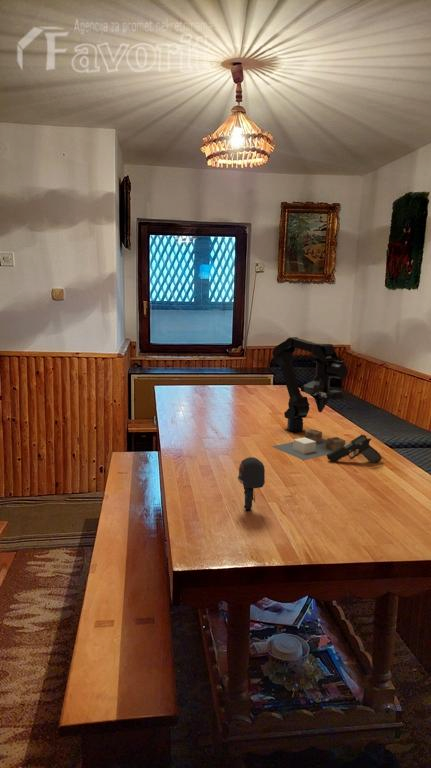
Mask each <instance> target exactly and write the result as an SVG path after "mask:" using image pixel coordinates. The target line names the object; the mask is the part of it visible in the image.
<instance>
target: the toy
mask: <svg viewBox="0 0 431 768" xmlns="http://www.w3.org/2000/svg"><path fill="white" fill-rule="evenodd" d="M265 471H266V469H265V465H264V463H263V462H262V461H261V460H259V458H257V457H254V456H253V457H252V456H249V457H246V458H244V459H243V460H241V463H240V464H239V467H238V476H237V480H238V482H239V483H240V484H241V485H242V487H243V494H244V508H245V509H244V511H245V512H250V511H251V509H252V508H253V501H254V503H256V494H255V489H260V488H263V487H264V486H265V483H266V481H265V477H266V476H265V473H266V472H265Z"/></svg>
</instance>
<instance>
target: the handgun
mask: <svg viewBox="0 0 431 768" xmlns="http://www.w3.org/2000/svg"><path fill="white" fill-rule="evenodd" d="M371 440H372V438H370V437H369V438H367V436H366V435H365V434H362V433H361V434H360V435H359V436H357V437H355V438H353V439H352V440H350V441H349V442H348V443H345V445H344V446H342V447H340V448H338V449H336V450H335V451H333V452H331V453H330V454H327V455H326V457H327V459H328V460H329V461H331V463H337V462H338V461H340V460H342V458H343V459H344V458H345V457H346V456H348V457H349V459H350V460H352V459H353V460H354V459H355V458H356V457H358V456H359V455H362V456H363V457H364V458H365V459H366V460H367V461H368V462H369V463H370V464H378V463H379V462H381V461H382V459H383V457H382V455H381V454H380V453H379V452H378V451H377V449H375V448H374V447H372V445H370V441H371ZM357 450H358V452H357ZM352 453H353V456H350V454H352Z"/></svg>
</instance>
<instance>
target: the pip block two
mask: <svg viewBox="0 0 431 768" xmlns="http://www.w3.org/2000/svg"><path fill="white" fill-rule="evenodd" d="M326 440H327V442H326V448H327V449H329V450H331V451H335V450H336V449H338V448H340V447H342V446H344V445H346V439H342V438H341V437H337V436H334V437H326Z"/></svg>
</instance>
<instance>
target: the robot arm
mask: <svg viewBox="0 0 431 768" xmlns="http://www.w3.org/2000/svg"><path fill="white" fill-rule="evenodd" d="M297 349H298V350H302V351H305V352H308V353H310V354H312V356H313V357H316V358H314V359H313V360H312V363H314V364H316V365H315V366H316V368H315V376H313V377H312V381H309V382H307V383H306V384H302V385H301V386H300V387H299V384H298V381H297V378H296V374H295V371H294V369H293V368H294V367H293V364H292V363H293V358H294V355H293V354H294V353H295V352H296V350H297ZM271 352H272V356H273V359H274V361H275V363H276V364H277V365H278V366H280V369H281V373H282V377H283V379H284V382H285V385H286V390H287V392H288V396H289V400H288V403H287V404H288V409H286V411H284V412H283V414H284V418H285V419H287V424H286V425H287V426H286V427H287V428H285V429H284V431H287V432H289V433H291V434H298V433H305V431H306V430H305V429H304V418H307V416H308V413H309V411H310V403H309V401H308V397H307V396H303V395H302V393H305V394H308V395H310V396H311V397H312V398H313V399H314V401H315V405H316V408H317V411H318V413H322V412H323V410H324V409H325V407H326V405H327V404H328V402H329V401H330V400H333V401H335V400H336V401H337V400H341V399H344V392H343V391H342V390H337V389H335V390H332V387H330V381H332V380H333V378H336V379H340V380H343V379H345V378H346V377H347V375H348V372H349V369H348V367H347V365H346V363H345V362H346V361H344V360H341V361H340V359H339V356H338V354H337V352H336V349H335V347H334V345H333V344H331V343H317V342H313V341H310V340H306V339H302V338H299V337H296V336H293V337H291V336H289V337H287V339H285V341H283V342H281V343H279V344H278V345H277V346H274V348H273V350H272V351H271ZM301 392H302V393H301Z"/></svg>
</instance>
